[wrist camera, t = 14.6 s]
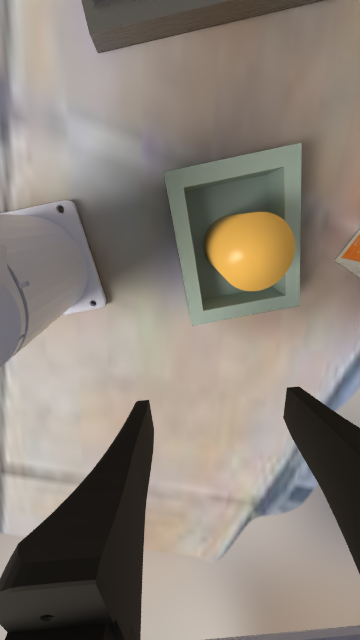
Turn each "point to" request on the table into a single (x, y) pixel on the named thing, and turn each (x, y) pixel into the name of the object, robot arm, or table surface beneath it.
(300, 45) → the table surface
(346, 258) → the skincare box
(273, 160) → the green rectangular tray
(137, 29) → the box
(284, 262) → the cap
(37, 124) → the table surface
